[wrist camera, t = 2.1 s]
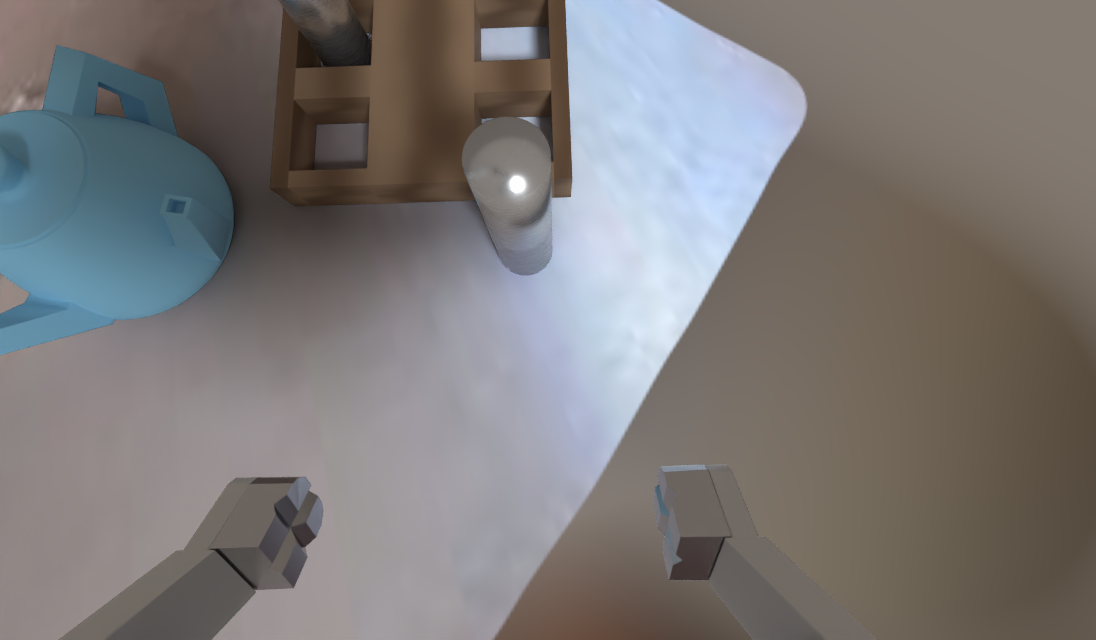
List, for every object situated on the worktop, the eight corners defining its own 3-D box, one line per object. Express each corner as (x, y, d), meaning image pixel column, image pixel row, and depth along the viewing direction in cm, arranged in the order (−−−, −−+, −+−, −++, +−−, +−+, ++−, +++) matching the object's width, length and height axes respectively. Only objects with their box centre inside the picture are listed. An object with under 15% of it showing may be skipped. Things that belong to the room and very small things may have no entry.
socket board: (295, 206, 33) (269, 188, 30) (307, 21, 35) (284, -12, 32) (570, 197, 33) (572, 177, 30) (563, 11, 35) (564, -23, 32)
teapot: (295, 263, 32) (168, 202, 22) (113, 374, 31) (-115, 367, 21) (205, 109, 35) (50, -16, 24) (31, 208, 33) (-213, 123, 23)
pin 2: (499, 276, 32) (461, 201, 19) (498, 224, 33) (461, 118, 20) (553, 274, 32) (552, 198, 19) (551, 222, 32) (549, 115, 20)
